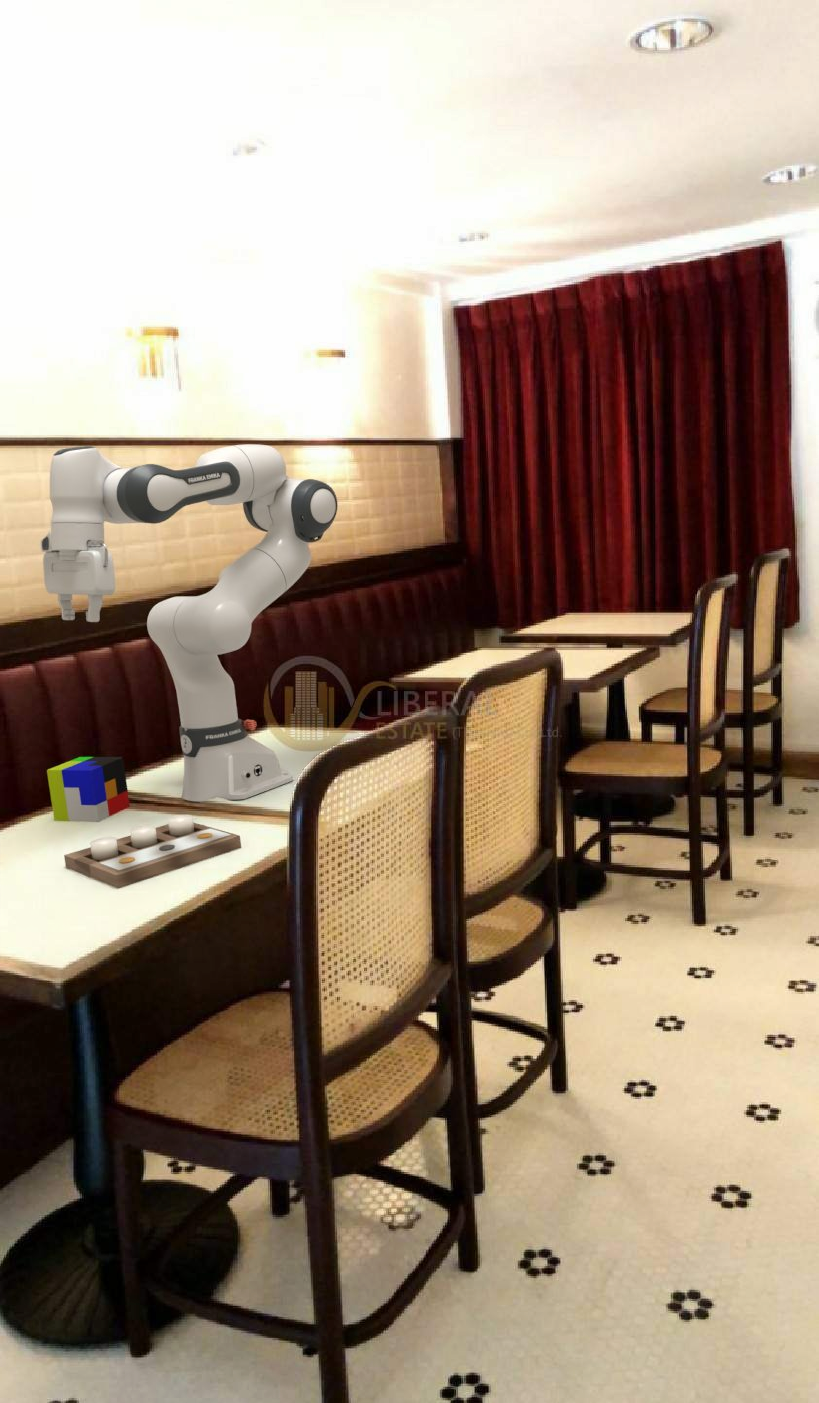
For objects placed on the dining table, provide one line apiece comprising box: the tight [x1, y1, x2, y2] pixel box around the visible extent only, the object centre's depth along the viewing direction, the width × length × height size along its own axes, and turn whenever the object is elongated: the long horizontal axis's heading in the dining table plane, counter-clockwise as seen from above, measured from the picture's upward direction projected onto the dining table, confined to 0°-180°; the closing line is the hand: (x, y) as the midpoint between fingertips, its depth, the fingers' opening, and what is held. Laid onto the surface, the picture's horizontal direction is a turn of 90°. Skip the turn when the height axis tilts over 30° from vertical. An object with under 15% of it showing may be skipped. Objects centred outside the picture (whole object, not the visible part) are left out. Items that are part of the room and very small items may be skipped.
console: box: [63, 821, 242, 889], centre depth 174 cm, size 22×17×4 cm
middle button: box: [129, 825, 157, 848], centre depth 176 cm, size 4×4×2 cm
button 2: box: [167, 814, 194, 836], centre depth 180 cm, size 4×4×2 cm
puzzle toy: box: [46, 756, 131, 823], centre depth 208 cm, size 10×10×10 cm
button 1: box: [89, 836, 118, 860], centre depth 171 cm, size 4×4×2 cm
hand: (80, 620), depth 190 cm, fingers open, 8 cm apart
